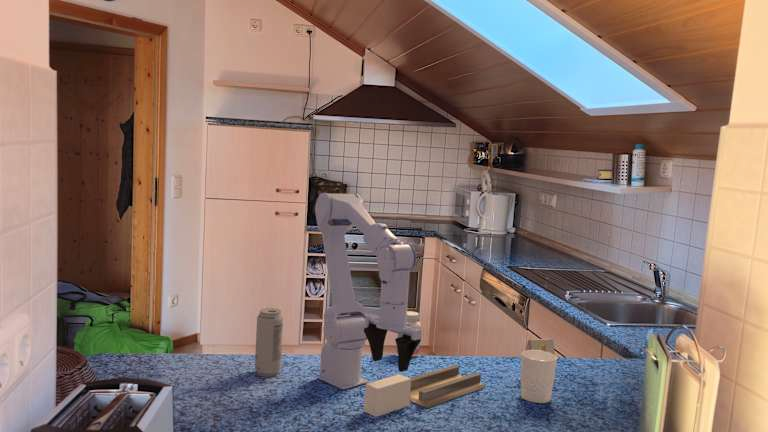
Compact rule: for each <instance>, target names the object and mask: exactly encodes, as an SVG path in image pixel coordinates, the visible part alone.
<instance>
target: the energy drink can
mask: <svg viewBox="0 0 768 432" xmlns="http://www.w3.org/2000/svg"><path fill="white" fill-rule="evenodd" d="M281 311H282V310H280V309H279V308H278V309H277V308H271V307H270V308H269V307H268V308H262V309H260V310H259V314H258V315H257V317H256V333H255V334H256V335H255V337H256V338H255V357H254V359H255V360H254V370H255V372H256V374H257V375H258V376H259V377H274V376H278V374H279V372H281V369H282V347H283V346H282V345H283V327H284V317H283V315H282V314H281Z"/></svg>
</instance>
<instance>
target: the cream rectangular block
mask: <svg viewBox="0 0 768 432" xmlns="http://www.w3.org/2000/svg"><path fill="white" fill-rule="evenodd" d="M410 378H411V377H410ZM410 378H409V377H408V376H405V375H403V374H395V375H391V376H388V377H385V378H382V379H379V380H375V381H371V382H368V383H365V388H364V389H365V391H364V392H365V393H364V395H365V396H364V406H363V407H364V409H363V411H364V413H367V414H369V415H371V416H373V417H376V418H377V417H379V416H383V415H385V414H388V413H391V412H395V411H397V410H400V409H403V408H406V407H409V406H410V405H411V404H410V403H411V401H410V389H411V379H410Z"/></svg>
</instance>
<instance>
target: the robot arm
mask: <svg viewBox="0 0 768 432" xmlns="http://www.w3.org/2000/svg"><path fill="white" fill-rule="evenodd" d="M314 213H315V219H316V224H317V229H318V231H319V232H321V236H322V244H323V250H324V256H325V262H326V268H327V269H326V270H327V274H328V275H327V276H328V281H329V282H328V283H329V287H330V293H331V300H332V305H330V307H329V308H328V309H327V310H326V311H325V312H324V314H323V336H324V339H325V340H326V342H325V343H324V344H323V346H322V348H321V352H320V366H319V368H320V369H319V375H316V378H317V379H319V380H321V381H322V382H326V383H327V384H329V385H332V386H334V387H335V388H338V389H341V390H348V389H350V388H354V387H358V386H361V385H364V384H365V385H366V384H367V383H369V380H367V379H366V378H363V377H361V373H362V372H361V371H362V354H363V352H362V351H363V346H365V345H366V341H368V345H369V347H370V352H371V359H372V362H378V361H382V359H383V355H384V346H385V342H386V336H387V335H388V334H387V333H388V332H392V333H395V334H397V335H398V334H400V335H403V337H400V338H398V337H396V338H394V339H395V343H396V344H395V345H396V350H397V349H398V353H397V357H398V359H397V367H398V368H397V369H398V372H405V371H408V370H409V366H410V362H411V360H412V358H413V357H412V355H413V353H414V351H415V349H416V347H417V346H418V344H419V343H420V344H421V341H422V328H421V329H418V328H416V327H414V326H412V325H411V324H409V323H407V322H406V320H407V311H408V306H409V305H408V301H409V288H410V287H409V285H410V275H411V274H410V273H411V271H413V270H414V269H415V267H416V264H417V252H416V250H415V248H414V246H413V245H412V243H409V242H403V241H400V240H399V238H398V237H397V236H396V235H395V234H393V233H392V231H390V229H389V228H388V225H387V224H386V223H380V222H375V221H374V219H373V218H372V216H371V215H370V214H369V212H368V211H367V210H366V208H365V207H364V199H363V198H362V197H361V196H360V195H359V194H358V193H357V192H356V193H354V192H353V193H328V192H321V193H320V194H319V196H318V197H317V199H316V202H315V205H314ZM353 227H355V228H357V229H358V230H359V231H360V232H361V233H362V234H363V237H362V240H363V243H364V244H365V245H366V246H367V248H368V249H370V251H371V252H372V253H373V254H374V256H376V263H377V264H376V265H377V267H378V273H379V275H378V276H379V279H380V280H381V283H380V299H379V315H377V314H367V311H366V307H365V306H363V305H362V304H360V303H359V302H358V301H356V298H355V292H354V286H353V280H352V274H351V269H350V262H349V256H348V250H347V243H346V237H345V236H346V234H347V233H348V232H349V231H351V230H352V229H353Z"/></svg>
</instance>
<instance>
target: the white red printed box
mask: <svg viewBox="0 0 768 432" xmlns="http://www.w3.org/2000/svg"><path fill="white" fill-rule="evenodd" d="M526 350H540V351H545V352H549V353H552V354H554V355H556V353H555V346H554V339H553V338H540V339H539V338H538V339H535V338H534V339H528V341H527V343H526V346H525V349H524V351H526Z"/></svg>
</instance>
